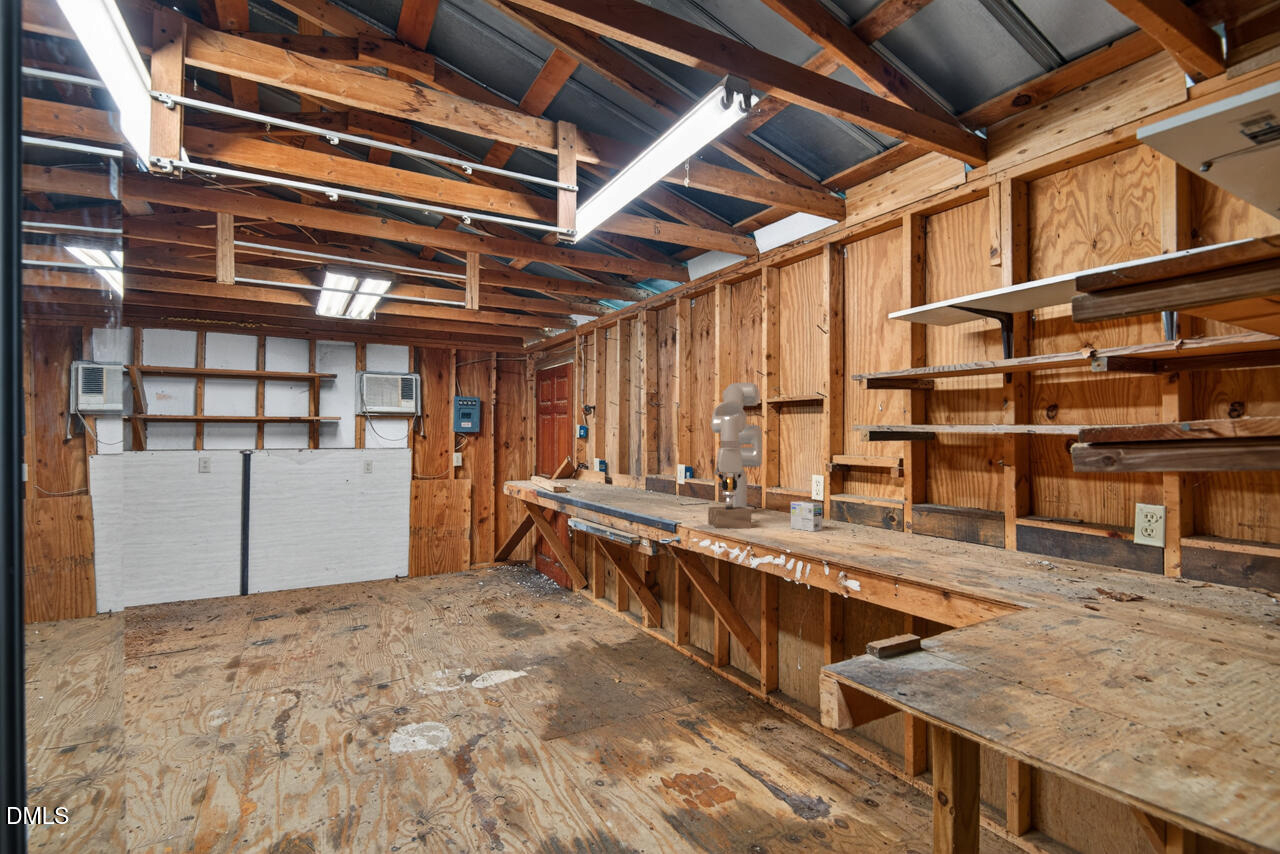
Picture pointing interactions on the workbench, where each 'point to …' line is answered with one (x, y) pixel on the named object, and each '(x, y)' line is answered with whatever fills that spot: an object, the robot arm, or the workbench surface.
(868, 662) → the workbench surface
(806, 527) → the light bulb box
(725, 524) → the block
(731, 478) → the multicoloured piece
